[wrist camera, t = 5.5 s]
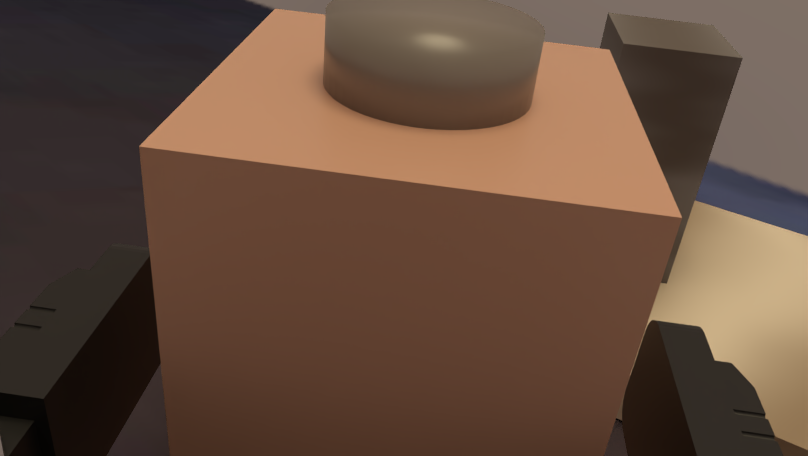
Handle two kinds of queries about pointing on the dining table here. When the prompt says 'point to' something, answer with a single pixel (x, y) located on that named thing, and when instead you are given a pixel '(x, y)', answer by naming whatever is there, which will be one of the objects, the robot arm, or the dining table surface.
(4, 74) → the dining table surface
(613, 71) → the square capped bottle
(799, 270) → the shaft board
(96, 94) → the dining table surface
